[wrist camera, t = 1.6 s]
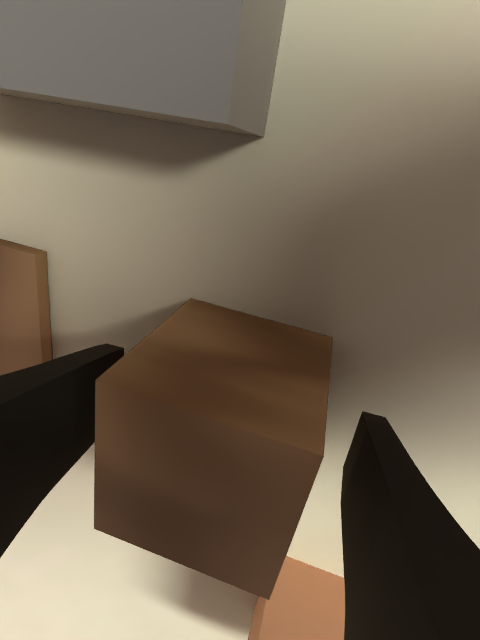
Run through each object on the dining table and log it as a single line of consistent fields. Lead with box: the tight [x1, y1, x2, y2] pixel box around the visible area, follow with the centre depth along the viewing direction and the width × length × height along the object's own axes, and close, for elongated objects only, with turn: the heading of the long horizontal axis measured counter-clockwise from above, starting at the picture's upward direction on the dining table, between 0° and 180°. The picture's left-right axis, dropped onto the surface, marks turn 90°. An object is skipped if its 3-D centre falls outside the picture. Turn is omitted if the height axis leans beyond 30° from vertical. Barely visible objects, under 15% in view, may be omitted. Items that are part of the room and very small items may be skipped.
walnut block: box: [94, 298, 332, 600], centre depth 10 cm, size 4×4×5 cm
